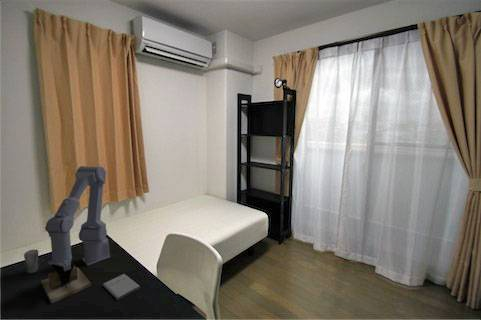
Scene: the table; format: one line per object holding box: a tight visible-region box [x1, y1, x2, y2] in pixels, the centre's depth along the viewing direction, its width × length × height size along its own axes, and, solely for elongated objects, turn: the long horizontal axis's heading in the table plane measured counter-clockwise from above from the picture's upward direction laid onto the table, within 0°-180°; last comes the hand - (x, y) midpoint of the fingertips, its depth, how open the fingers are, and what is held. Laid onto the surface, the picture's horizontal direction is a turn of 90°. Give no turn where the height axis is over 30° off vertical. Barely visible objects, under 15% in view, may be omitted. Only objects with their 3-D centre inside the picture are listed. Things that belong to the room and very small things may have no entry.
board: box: [41, 266, 92, 304], centre depth 87 cm, size 12×16×1 cm
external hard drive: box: [102, 273, 141, 301], centre depth 86 cm, size 2×8×12 cm
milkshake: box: [23, 249, 39, 274], centre depth 94 cm, size 4×5×10 cm
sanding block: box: [48, 264, 78, 289], centre depth 86 cm, size 8×4×4 cm, turn 141°
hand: (63, 280), depth 86 cm, fingers closed on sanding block, 4 cm apart
